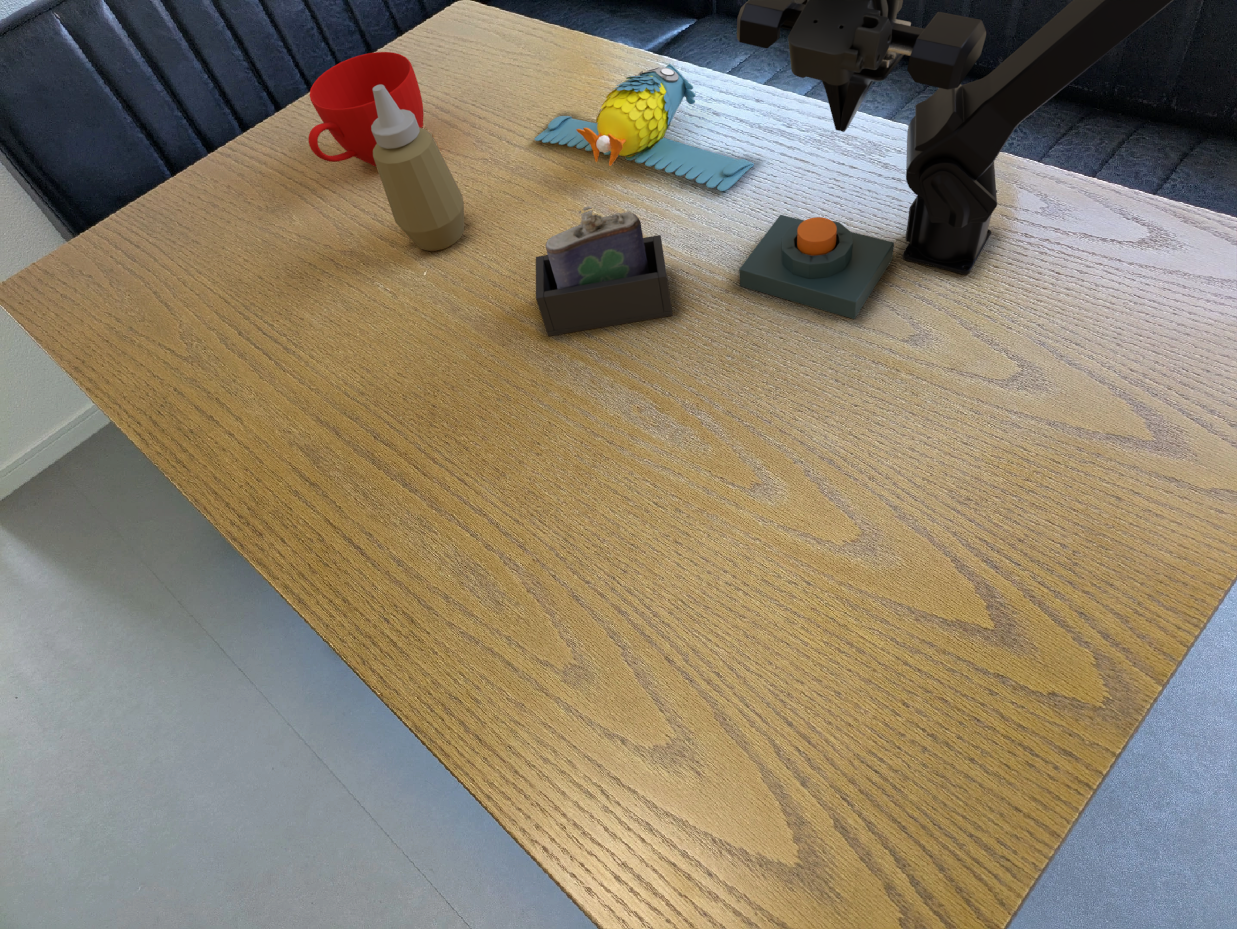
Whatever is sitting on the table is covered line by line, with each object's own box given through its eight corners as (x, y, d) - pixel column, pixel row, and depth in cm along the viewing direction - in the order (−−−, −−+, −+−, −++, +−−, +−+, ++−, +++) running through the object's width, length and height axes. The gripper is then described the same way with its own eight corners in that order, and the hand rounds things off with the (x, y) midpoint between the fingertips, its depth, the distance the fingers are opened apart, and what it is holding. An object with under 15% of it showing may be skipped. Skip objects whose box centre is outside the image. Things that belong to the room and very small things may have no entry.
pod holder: (666, 274, 84) (660, 234, 80) (672, 315, 80) (666, 275, 76) (547, 294, 85) (535, 256, 81) (548, 336, 82) (535, 298, 77)
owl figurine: (496, 91, 94) (574, 29, 101) (515, 158, 101) (587, 96, 107) (703, 141, 82) (777, 66, 88) (708, 214, 88) (777, 140, 95)
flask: (568, 323, 81) (542, 236, 73) (561, 305, 83) (535, 218, 75) (655, 295, 82) (640, 205, 73) (647, 277, 83) (631, 187, 75)
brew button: (842, 236, 78) (843, 221, 76) (826, 260, 76) (826, 245, 75) (807, 228, 79) (807, 213, 78) (790, 251, 78) (790, 236, 76)
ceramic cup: (304, 189, 105) (264, 118, 97) (388, 117, 113) (357, 45, 105) (375, 210, 100) (340, 136, 92) (459, 133, 107) (432, 58, 99)
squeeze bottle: (394, 254, 94) (323, 108, 80) (428, 210, 98) (366, 63, 84) (453, 262, 91) (391, 113, 77) (485, 217, 95) (432, 67, 81)
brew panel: (892, 259, 80) (896, 226, 77) (854, 319, 76) (857, 287, 73) (780, 231, 85) (780, 199, 82) (739, 286, 81) (737, 254, 78)
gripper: (703, -41, 59) (704, 151, 72) (959, 8, 52) (910, 210, 65) (773, -102, 64) (762, 87, 77) (1015, -66, 57) (959, 136, 70)
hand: (842, 128), depth 72 cm, fingers closed
